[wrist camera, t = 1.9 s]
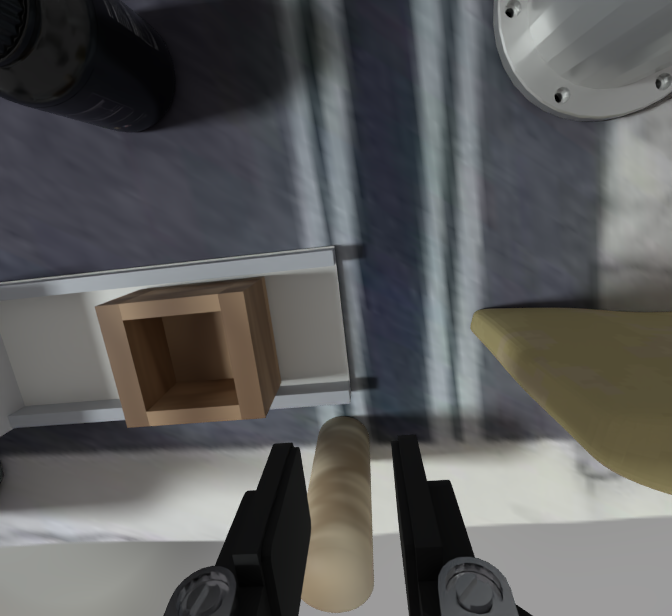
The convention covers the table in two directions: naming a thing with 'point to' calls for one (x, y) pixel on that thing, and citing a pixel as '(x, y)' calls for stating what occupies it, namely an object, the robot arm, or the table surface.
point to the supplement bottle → (85, 62)
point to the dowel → (340, 519)
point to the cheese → (595, 379)
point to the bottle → (1, 473)
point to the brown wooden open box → (192, 352)
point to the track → (99, 287)
